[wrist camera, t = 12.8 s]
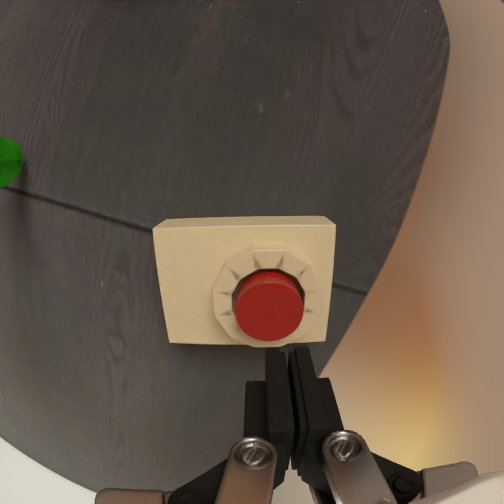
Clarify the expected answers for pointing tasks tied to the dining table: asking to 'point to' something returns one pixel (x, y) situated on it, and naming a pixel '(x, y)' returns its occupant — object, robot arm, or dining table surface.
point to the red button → (268, 306)
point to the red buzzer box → (241, 273)
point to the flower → (9, 161)
